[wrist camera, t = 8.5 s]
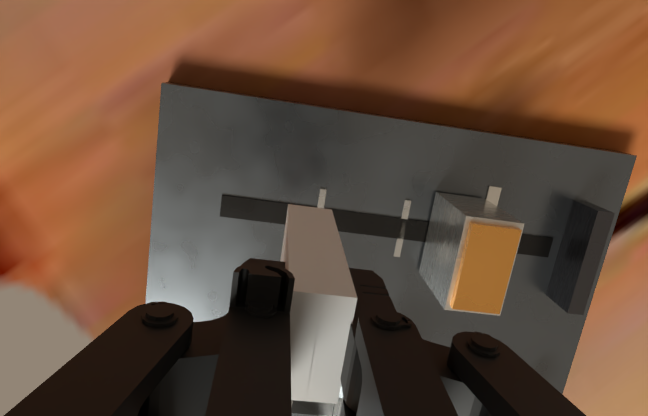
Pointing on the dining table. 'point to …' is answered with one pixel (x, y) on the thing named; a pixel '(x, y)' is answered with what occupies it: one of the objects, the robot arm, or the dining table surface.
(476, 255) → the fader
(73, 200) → the dining table surface
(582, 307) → the console
